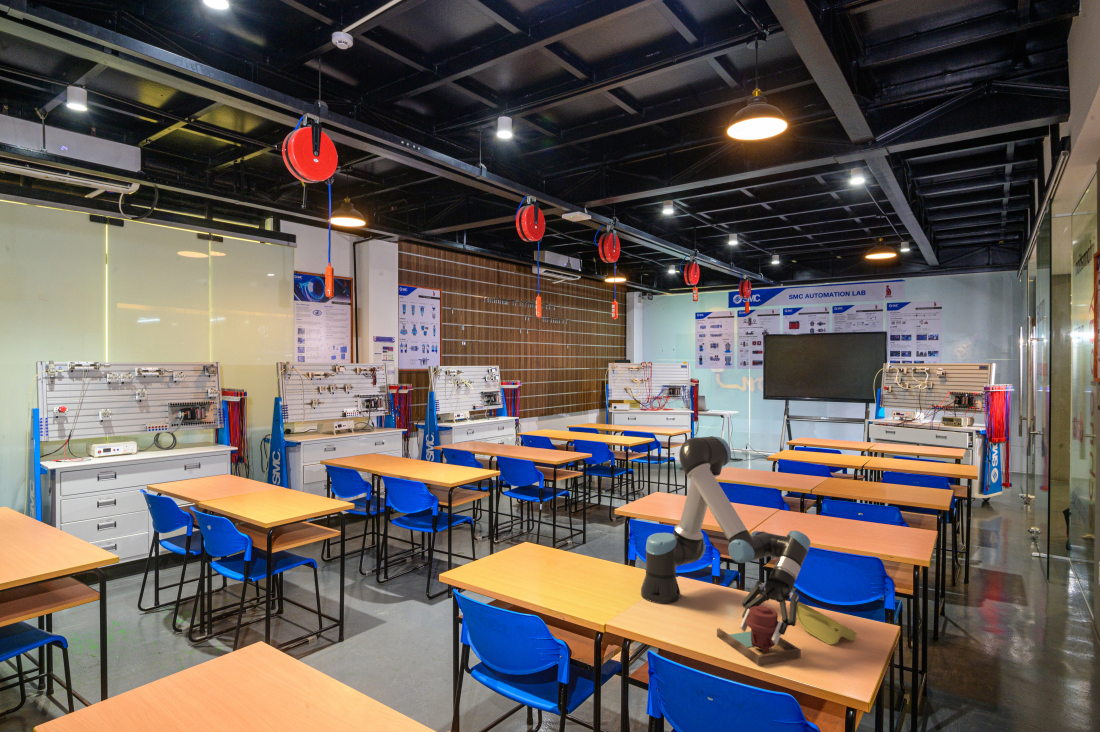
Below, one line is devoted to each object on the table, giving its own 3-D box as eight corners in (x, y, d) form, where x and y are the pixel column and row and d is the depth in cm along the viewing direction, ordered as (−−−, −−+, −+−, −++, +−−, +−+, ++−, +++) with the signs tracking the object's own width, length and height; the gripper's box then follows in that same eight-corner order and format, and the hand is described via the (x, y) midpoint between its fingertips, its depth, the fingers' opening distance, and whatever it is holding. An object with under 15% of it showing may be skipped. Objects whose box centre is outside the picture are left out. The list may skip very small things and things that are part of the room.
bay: (716, 636, 183) (717, 628, 183) (756, 630, 189) (756, 622, 189) (758, 665, 164) (758, 657, 164) (801, 658, 170) (801, 649, 170)
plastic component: (860, 634, 182) (842, 625, 178) (851, 655, 181) (833, 647, 177) (809, 607, 200) (792, 598, 196) (802, 626, 199) (784, 618, 195)
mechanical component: (778, 658, 168) (743, 650, 172) (781, 644, 176) (748, 637, 181) (778, 617, 168) (744, 610, 172) (782, 605, 177) (749, 599, 181)
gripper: (822, 591, 176) (797, 656, 165) (756, 571, 193) (730, 628, 183) (814, 578, 172) (788, 643, 162) (748, 558, 190) (721, 616, 180)
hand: (757, 635), depth 172 cm, fingers closed on mechanical component, 10 cm apart
